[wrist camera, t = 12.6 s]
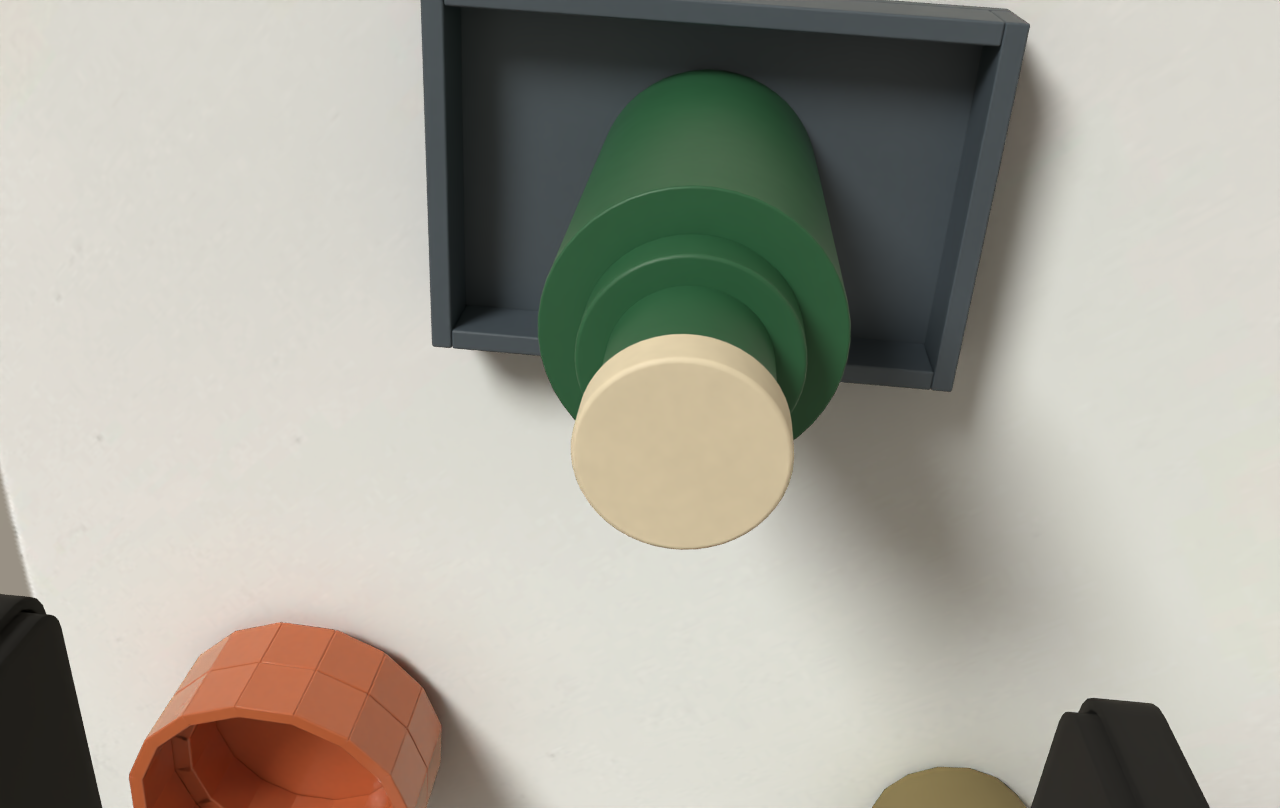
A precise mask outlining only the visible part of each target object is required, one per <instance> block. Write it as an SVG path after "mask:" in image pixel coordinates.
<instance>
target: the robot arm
mask: <svg viewBox="0 0 1280 808" xmlns="http://www.w3.org/2000/svg"><path fill="white" fill-rule="evenodd" d="M0 808H102V805H101V800H100V796H99V792H98V787H97V783H96V778H95V774H94V770H93V765H92V761H91V756H90V752H89V748H88V743H87V739H86V734H85V730H84V726H83V721H82V717H81V712H80V708H79V704H78V699H77V695H76V690H75V686H74V682H73V677H72V673H71V668H70V664H69V660H68V655H67V651H66V646H65V642H64V638H63V633H62V629H61V626H60V623H59V620H58V619H57V618H56V617H55V616H53V615H47V614H46V612H45V610H44V607H43V605H42V604H41V603H40V602H39V601H38V599H36V598H32V597H25V596H14V595H4V594H0ZM1031 808H1210V807H1209V805H1208V803H1207V801H1206V799H1205V797H1204V795H1203V793H1202V791H1201V789H1200V787H1199V785H1198V783H1197V781H1196V779H1195V777H1194V775H1193V773H1192V771H1191V769H1190V767H1189V765H1188V763H1187V761H1186V759H1185V757H1184V755H1183V753H1182V751H1181V749H1180V747H1179V745H1178V743H1177V741H1176V739H1175V737H1174V735H1173V733H1172V731H1171V729H1170V727H1169V725H1168V723H1167V721H1166V719H1165V717H1164V715H1163V714H1162V712H1161V711H1160V709H1159V708H1158V707H1157V706H1155V705H1154V704H1151V703H1141V702H1130V701H1120V700H1109V699H1099V698H1089V699H1087V700H1086V701H1085V702H1084V703H1083V704H1082V706H1081V708H1080V710H1079V712H1078V713H1075V712H1065V713H1064V714H1063V715H1062V717H1061V719H1060V721H1059V724H1058V727H1057V730H1056V733H1055V736H1054V739H1053V742H1052V745H1051V748H1050V751H1049V754H1048V757H1047V760H1046V763H1045V766H1044V770H1043V773H1042V776H1041V779H1040V782H1039V785H1038V788H1037V791H1036V794H1035V797H1034V800H1033V803H1032V806H1031Z"/></svg>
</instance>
